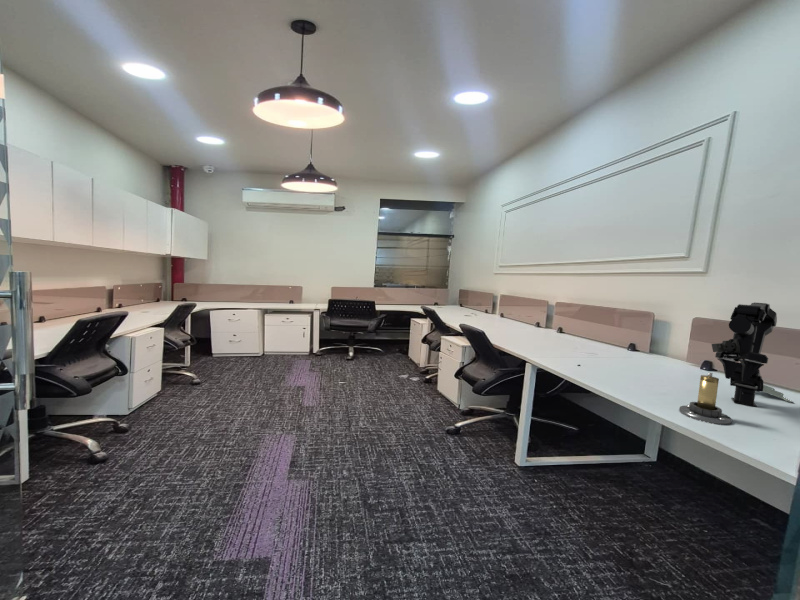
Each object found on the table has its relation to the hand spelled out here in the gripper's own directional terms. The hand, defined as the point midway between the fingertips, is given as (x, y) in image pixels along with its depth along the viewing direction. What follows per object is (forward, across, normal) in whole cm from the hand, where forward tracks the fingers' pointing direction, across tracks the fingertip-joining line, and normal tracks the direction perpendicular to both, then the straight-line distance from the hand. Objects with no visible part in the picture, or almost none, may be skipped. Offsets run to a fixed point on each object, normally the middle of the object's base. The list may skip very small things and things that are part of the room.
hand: (735, 379), depth 129 cm
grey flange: (+16, +6, -10) cm, 20 cm away
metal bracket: (+2, -33, +29) cm, 44 cm away
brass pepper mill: (+14, +7, -10) cm, 19 cm away
